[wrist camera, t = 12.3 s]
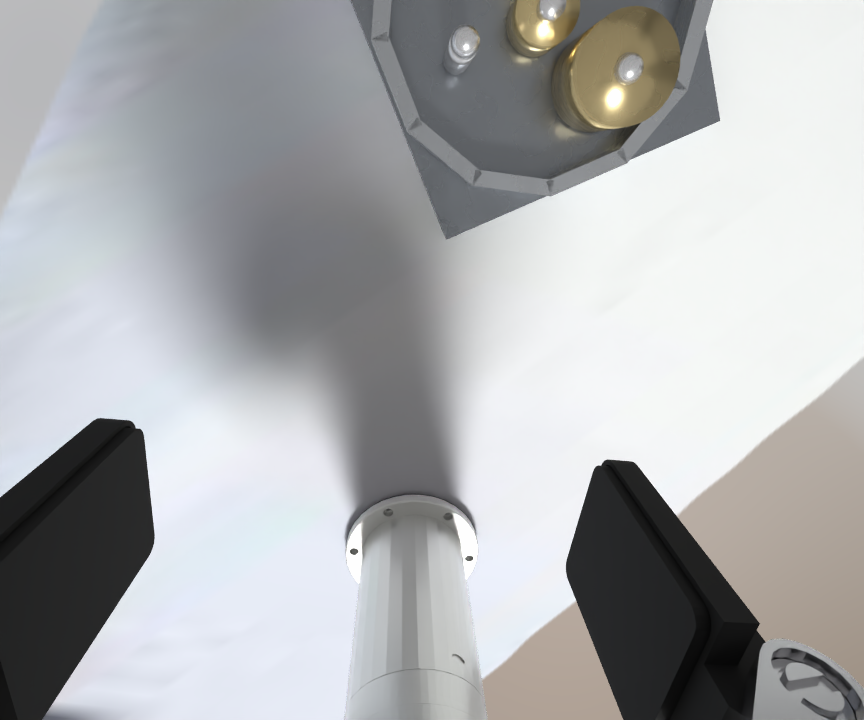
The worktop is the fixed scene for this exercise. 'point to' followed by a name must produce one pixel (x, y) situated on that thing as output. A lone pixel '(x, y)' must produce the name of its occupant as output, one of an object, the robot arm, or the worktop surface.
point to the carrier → (536, 91)
